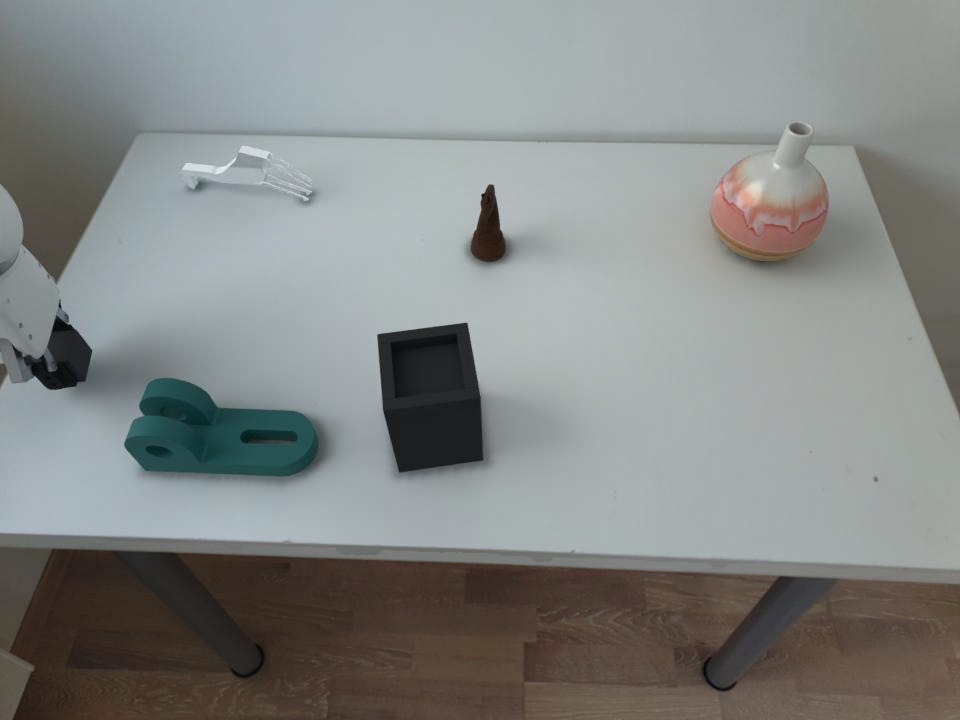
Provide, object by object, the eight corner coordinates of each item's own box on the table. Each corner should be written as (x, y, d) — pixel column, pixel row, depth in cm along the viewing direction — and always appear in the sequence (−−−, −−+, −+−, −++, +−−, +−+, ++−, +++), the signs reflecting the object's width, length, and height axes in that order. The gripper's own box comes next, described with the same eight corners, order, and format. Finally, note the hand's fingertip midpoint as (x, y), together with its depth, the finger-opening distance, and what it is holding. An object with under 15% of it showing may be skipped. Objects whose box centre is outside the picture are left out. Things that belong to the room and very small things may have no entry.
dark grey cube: (44, 387, 80) (25, 366, 76) (53, 355, 82) (34, 334, 79) (85, 381, 80) (68, 360, 77) (92, 350, 82) (76, 328, 79)
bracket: (145, 470, 75) (112, 434, 69) (165, 416, 79) (135, 376, 73) (311, 477, 74) (293, 441, 68) (323, 422, 78) (307, 382, 72)
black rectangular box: (399, 472, 75) (383, 411, 64) (392, 401, 80) (376, 333, 70) (483, 460, 75) (480, 397, 65) (471, 390, 80) (467, 321, 70)
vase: (701, 275, 90) (740, 162, 75) (699, 201, 97) (734, 87, 83) (814, 286, 88) (875, 173, 74) (802, 210, 96) (856, 96, 82)
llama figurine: (304, 223, 105) (183, 176, 102) (317, 170, 96) (185, 116, 93) (300, 232, 104) (178, 184, 101) (313, 179, 95) (179, 124, 92)
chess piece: (466, 258, 92) (463, 200, 84) (477, 231, 95) (475, 172, 87) (500, 265, 91) (500, 206, 83) (510, 237, 94) (511, 178, 86)
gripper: (-44, 198, 71) (50, 315, 86) (-101, 328, 61) (16, 435, 76) (33, 189, 71) (114, 307, 86) (-11, 316, 61) (88, 425, 76)
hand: (67, 366), depth 81 cm, fingers closed on dark grey cube, 4 cm apart
